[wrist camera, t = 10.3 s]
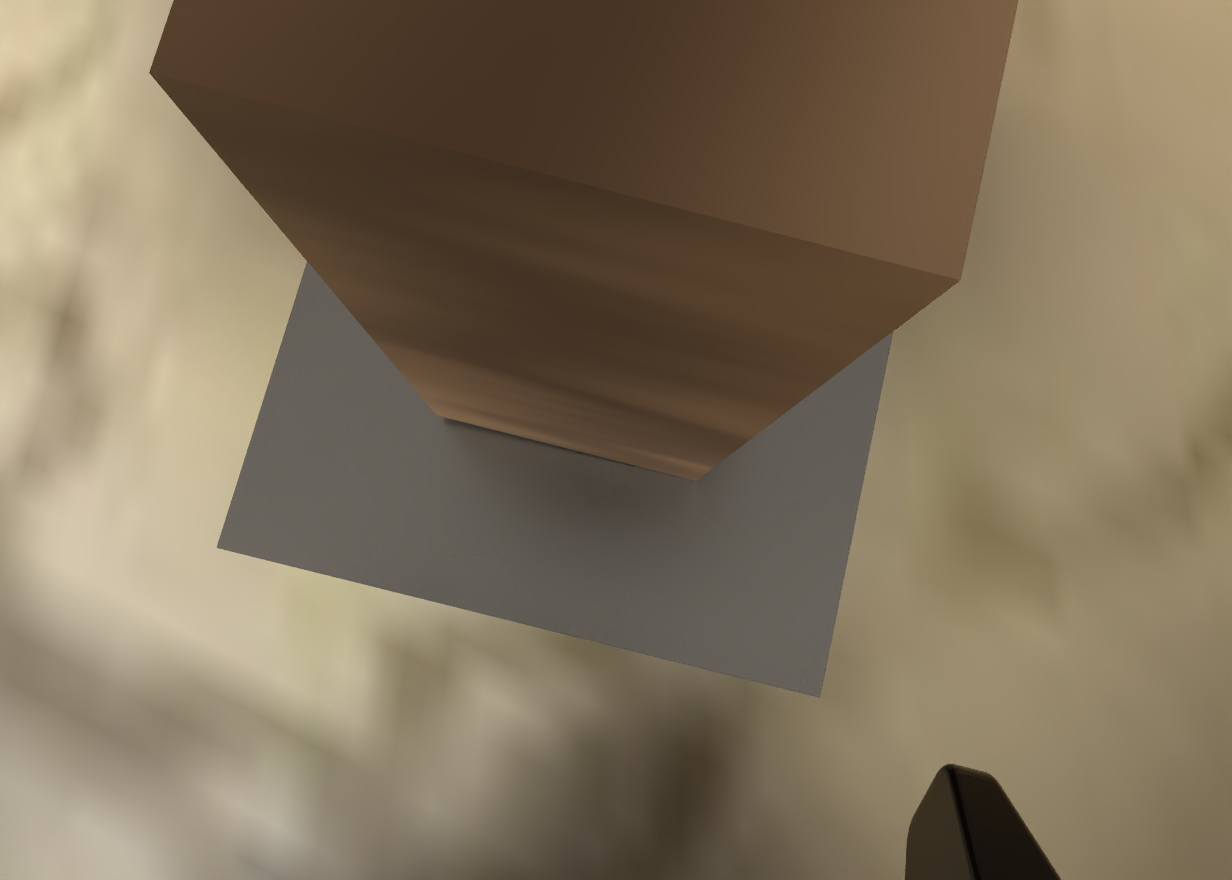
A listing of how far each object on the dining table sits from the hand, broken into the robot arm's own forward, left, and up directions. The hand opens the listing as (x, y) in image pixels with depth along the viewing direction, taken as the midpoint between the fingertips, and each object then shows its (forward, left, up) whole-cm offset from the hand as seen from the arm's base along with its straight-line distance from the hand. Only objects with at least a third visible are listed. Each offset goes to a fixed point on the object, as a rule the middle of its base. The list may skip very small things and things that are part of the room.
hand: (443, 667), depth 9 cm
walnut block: (+2, -6, -9) cm, 11 cm away
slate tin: (+2, -6, -13) cm, 15 cm away
